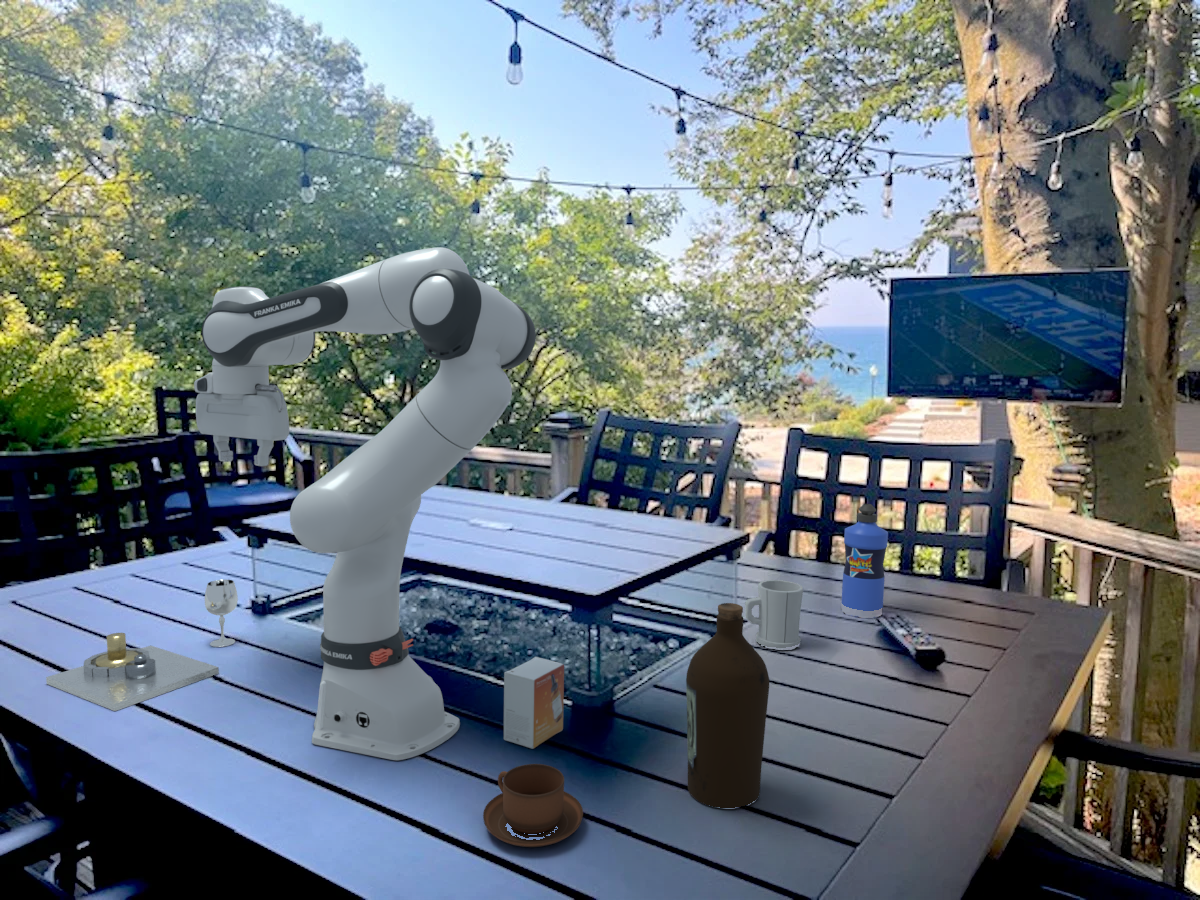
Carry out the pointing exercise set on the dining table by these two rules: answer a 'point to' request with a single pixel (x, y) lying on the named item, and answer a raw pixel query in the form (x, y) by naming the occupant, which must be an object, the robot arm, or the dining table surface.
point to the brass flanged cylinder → (116, 652)
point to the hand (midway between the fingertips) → (243, 463)
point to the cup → (777, 613)
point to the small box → (533, 702)
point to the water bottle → (864, 562)
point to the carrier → (132, 677)
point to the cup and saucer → (532, 807)
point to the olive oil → (726, 715)
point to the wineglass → (221, 605)
